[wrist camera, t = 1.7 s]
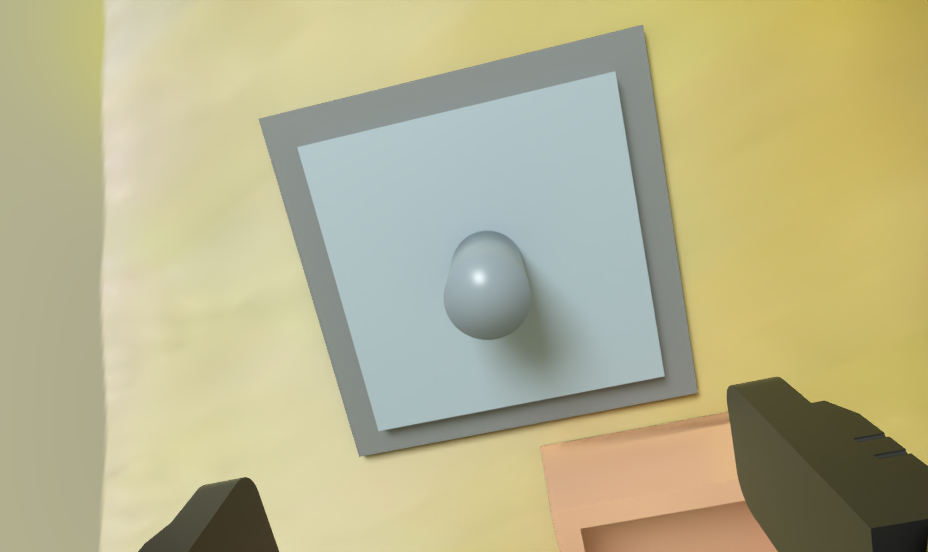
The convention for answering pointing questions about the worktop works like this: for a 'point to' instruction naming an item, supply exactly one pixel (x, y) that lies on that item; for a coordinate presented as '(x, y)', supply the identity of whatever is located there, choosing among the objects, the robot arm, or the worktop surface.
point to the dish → (651, 491)
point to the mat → (465, 90)
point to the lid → (489, 253)
